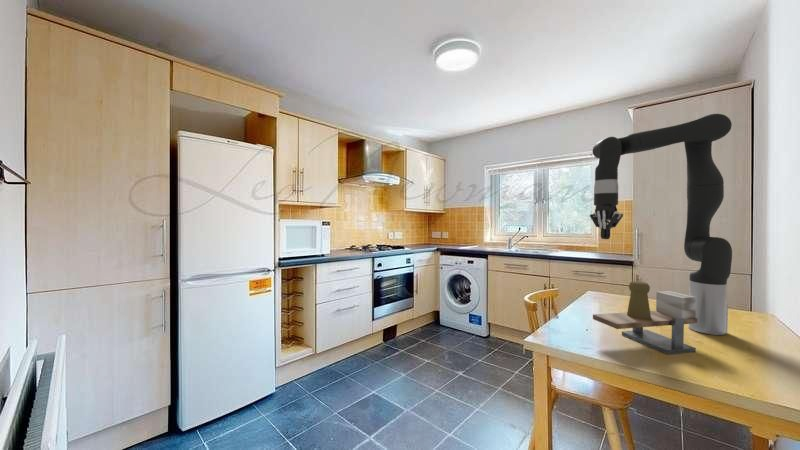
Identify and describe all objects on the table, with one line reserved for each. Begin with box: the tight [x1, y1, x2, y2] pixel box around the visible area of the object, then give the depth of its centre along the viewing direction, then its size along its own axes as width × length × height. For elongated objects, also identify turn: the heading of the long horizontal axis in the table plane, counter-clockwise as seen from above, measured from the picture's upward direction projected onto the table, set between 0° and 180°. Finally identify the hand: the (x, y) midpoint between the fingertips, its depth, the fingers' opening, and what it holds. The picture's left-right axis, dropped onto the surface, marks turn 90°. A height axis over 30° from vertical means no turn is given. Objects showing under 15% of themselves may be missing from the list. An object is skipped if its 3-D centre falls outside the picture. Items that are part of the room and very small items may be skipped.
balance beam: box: [592, 290, 697, 330], centre depth 96 cm, size 28×11×8 cm, turn 99°
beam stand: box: [621, 317, 697, 355], centre depth 96 cm, size 10×15×10 cm, turn 9°
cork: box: [627, 280, 651, 320], centre depth 95 cm, size 6×6×11 cm
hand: (605, 239), depth 113 cm, fingers closed
